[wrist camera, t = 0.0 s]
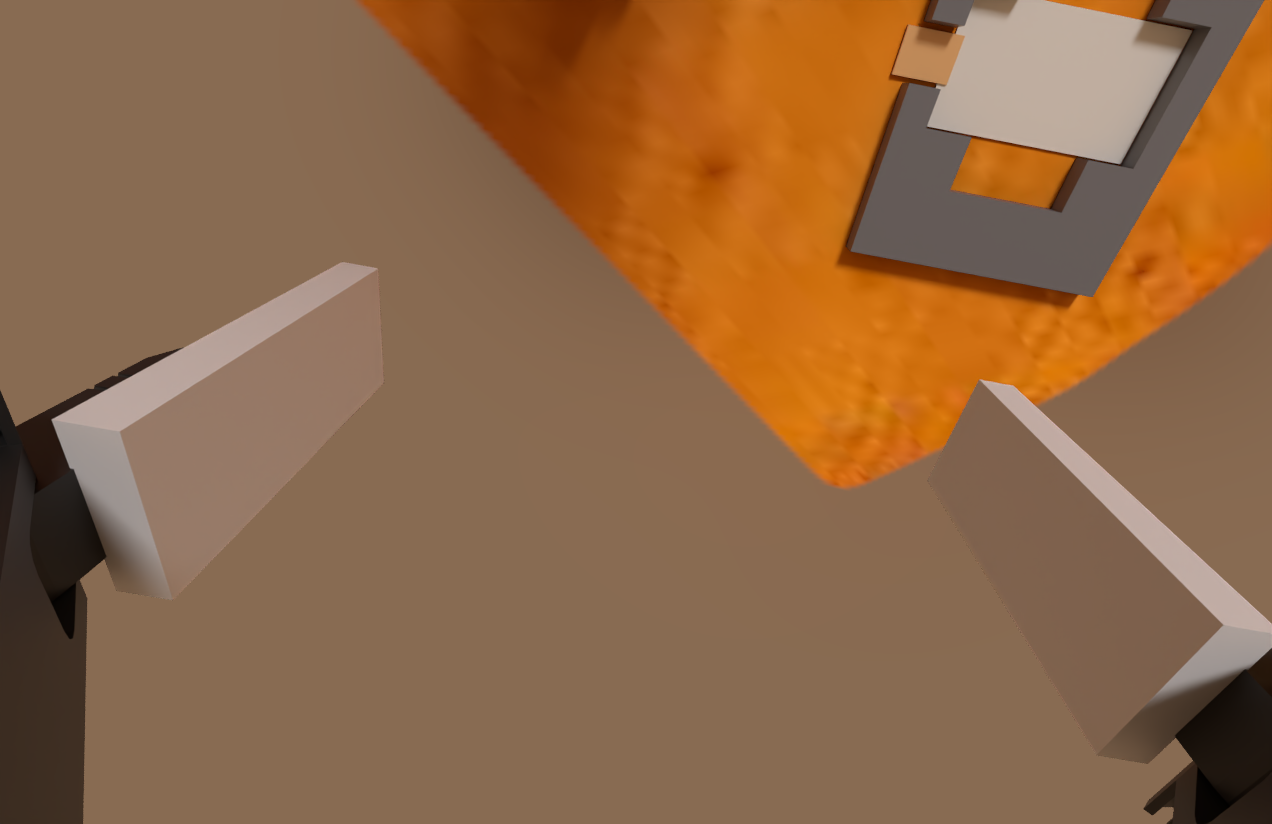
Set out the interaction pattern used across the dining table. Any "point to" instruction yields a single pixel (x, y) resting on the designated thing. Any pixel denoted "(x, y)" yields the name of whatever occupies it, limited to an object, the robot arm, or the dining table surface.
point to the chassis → (1039, 130)
